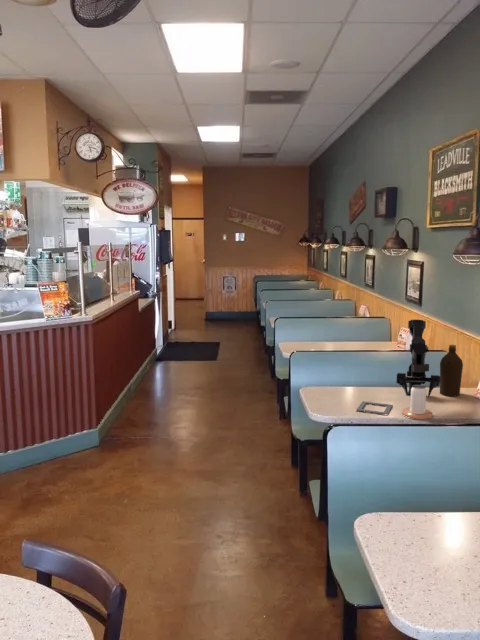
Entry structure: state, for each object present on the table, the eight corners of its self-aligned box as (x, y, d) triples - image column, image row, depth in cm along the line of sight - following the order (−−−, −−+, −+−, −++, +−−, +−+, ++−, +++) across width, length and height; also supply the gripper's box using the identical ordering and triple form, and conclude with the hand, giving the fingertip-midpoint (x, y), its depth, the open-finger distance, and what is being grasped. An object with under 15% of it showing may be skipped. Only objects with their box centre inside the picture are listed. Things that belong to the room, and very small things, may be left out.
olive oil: (464, 397, 266) (467, 347, 262) (442, 396, 267) (444, 347, 263) (456, 390, 277) (459, 343, 273) (435, 390, 278) (438, 342, 273)
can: (428, 413, 240) (429, 387, 238) (416, 415, 237) (417, 389, 235) (418, 409, 245) (419, 383, 243) (406, 411, 243) (407, 385, 241)
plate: (404, 408, 250) (404, 406, 250) (433, 412, 245) (434, 409, 245) (399, 417, 239) (399, 414, 238) (430, 421, 233) (431, 418, 233)
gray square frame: (362, 402, 260) (362, 401, 260) (392, 406, 254) (392, 404, 254) (356, 411, 247) (356, 409, 247) (387, 415, 241) (387, 414, 241)
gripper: (397, 355, 246) (396, 386, 237) (441, 358, 241) (441, 389, 232) (396, 368, 255) (395, 397, 246) (438, 370, 250) (439, 401, 241)
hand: (417, 396), depth 241 cm, fingers open, 9 cm apart
